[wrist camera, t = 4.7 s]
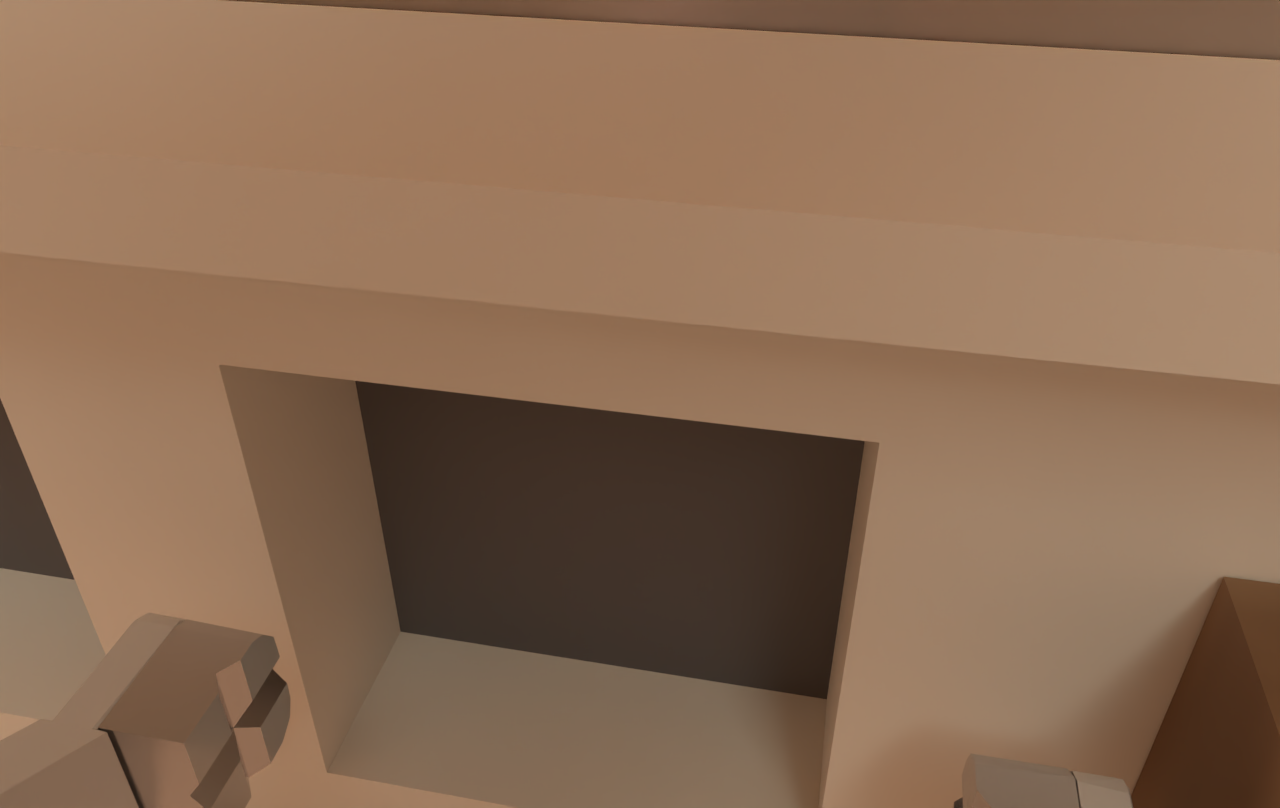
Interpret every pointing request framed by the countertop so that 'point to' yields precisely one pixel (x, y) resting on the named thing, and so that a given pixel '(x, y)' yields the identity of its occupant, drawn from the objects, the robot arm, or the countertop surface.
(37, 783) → the robot arm
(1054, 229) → the trap track
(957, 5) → the countertop surface
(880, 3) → the countertop surface
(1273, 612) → the walnut block
